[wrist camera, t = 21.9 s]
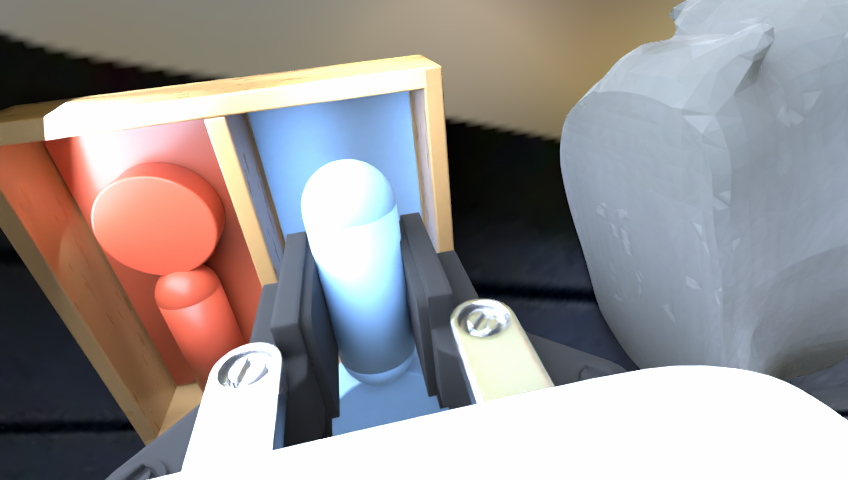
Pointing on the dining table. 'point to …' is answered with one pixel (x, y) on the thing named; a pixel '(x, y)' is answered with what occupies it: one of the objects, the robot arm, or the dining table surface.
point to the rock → (720, 189)
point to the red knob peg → (172, 254)
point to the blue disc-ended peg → (365, 295)
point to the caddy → (231, 179)
